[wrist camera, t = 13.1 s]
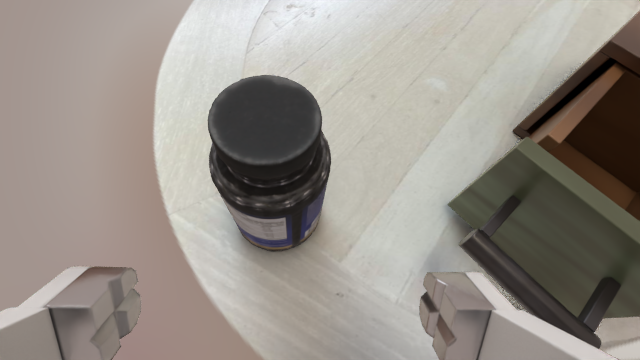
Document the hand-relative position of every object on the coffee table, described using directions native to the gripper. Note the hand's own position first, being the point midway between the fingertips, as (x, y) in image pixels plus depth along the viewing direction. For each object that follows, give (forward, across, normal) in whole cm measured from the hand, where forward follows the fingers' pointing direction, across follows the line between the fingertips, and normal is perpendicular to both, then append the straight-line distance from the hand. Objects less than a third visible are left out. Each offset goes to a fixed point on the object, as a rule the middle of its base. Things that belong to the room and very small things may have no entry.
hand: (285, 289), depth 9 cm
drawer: (+12, -18, +3) cm, 22 cm away
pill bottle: (+13, +1, +4) cm, 14 cm away
